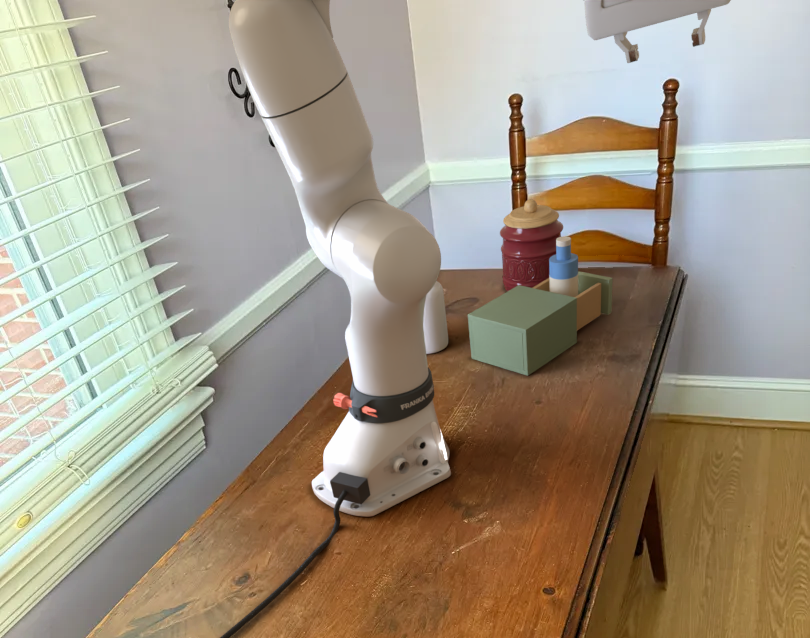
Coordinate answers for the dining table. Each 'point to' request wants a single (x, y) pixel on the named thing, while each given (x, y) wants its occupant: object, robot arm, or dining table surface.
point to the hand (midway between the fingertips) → (665, 52)
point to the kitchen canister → (528, 244)
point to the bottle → (563, 269)
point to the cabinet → (523, 329)
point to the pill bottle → (435, 320)
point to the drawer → (589, 296)
